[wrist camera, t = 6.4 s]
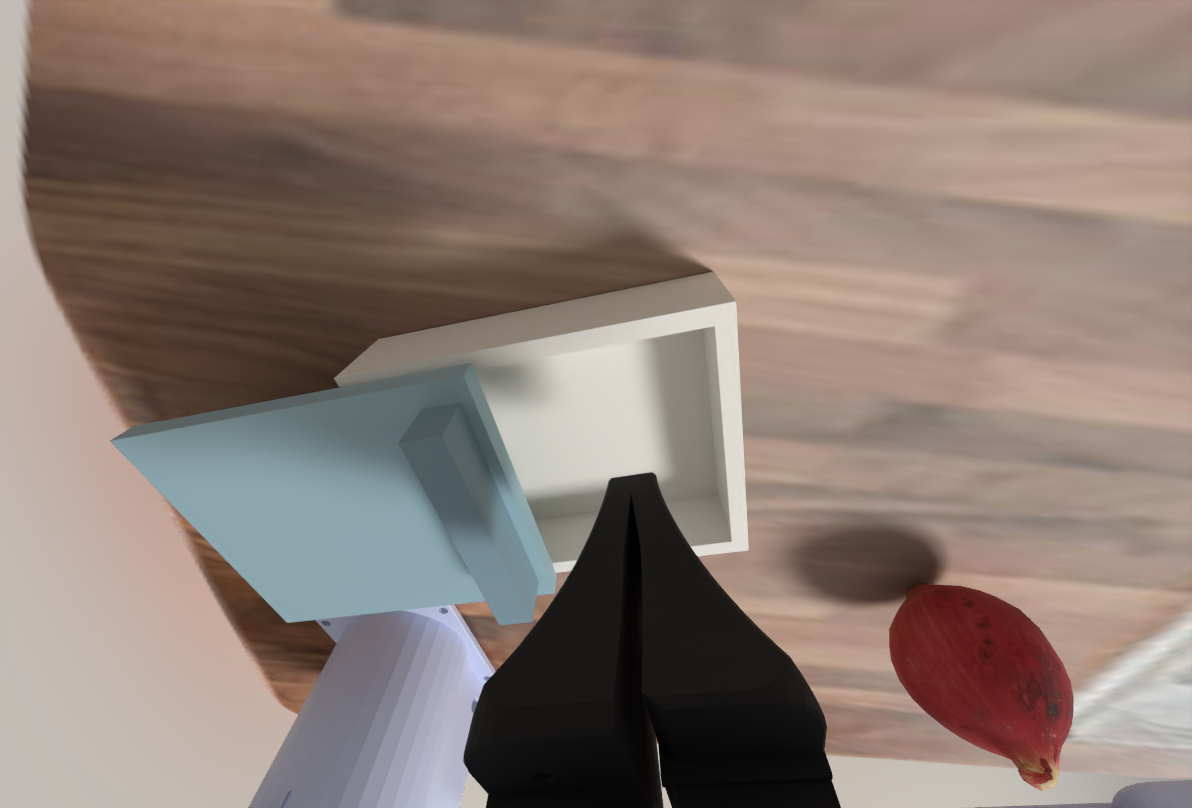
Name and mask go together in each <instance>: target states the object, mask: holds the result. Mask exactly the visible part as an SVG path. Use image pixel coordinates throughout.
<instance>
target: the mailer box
mask: <svg viewBox="0 0 1192 808" xmlns="http://www.w3.org/2000/svg"><path fill="white" fill-rule="evenodd" d="M467 363H472V365H473V368H474V370H475V372H476V375H477V377H478V380H479V382H480V385H481V387H482V390H483V392H484V395H485V397H486V400H487V402H488V405H489V407H490V410H491V412H492V415H493V417H494V420H495V422H496V425H497V427H498V430H499V432H500V435H501V437H502V440H503V442H504V445H505V447H506V450H507V452H508V455H509V457H510V460H511V462H512V465H513V467H514V470H515V472H516V475H517V477H518V480H519V482H520V485H521V487H522V490H523V492H524V495H525V497H526V500H527V502H528V505H529V507H530V510H531V512H532V515H533V517H534V520H535V522H536V525H537V527H538V530H539V532H540V535H541V537H542V540H543V542H544V545H545V547H546V550H547V552H548V555H549V557H550V560H551V562H552V565H553V567H554V570H555V572H556V573H558V572H566V571H572V569H573V567H574V565H575V563H576V562H577V560H578V558H579V556H580V554H581V552H582V550H583V548H584V546H585V543H586V541H587V539H588V537H589V535H590V533H591V530H592V528H593V526H594V523H595V521H596V518H597V516H598V513H599V511H600V508H601V505H602V502H603V499H604V496H605V493H606V489H607V486H608V481H609V480H610V479H611V478H615V477H622V476H628V475H635V474H642V473H649V472H653V473H654V474H656V477H657V482H658V485H659V488H660V491H661V494H662V496H663V498H664V501H665V503H666V505H667V507H668V509H669V511H670V513H671V515H672V517H673V518H674V520H675V522H676V524H677V526H678V527H679V529H680V531H681V532H682V534H683V536H684V537H685V539H686V540H687V542H688V543H689V545H690V546H691V548H692V549H693V551H694V552H695V554H696V555H697V556H704V555H712V554H721V553H729V552H738V551H747V550H749V549H748V530H747V510H746V490H745V470H744V450H743V431H742V411H741V391H740V371H739V351H738V332H737V312H736V301H735V299H734V298H733V297H732V295H731V294H730V293H729V291H728V290H727V289H726V287H725V286H724V285H723V283H722V282H721V281H720V279H719V278H718V277H717V275H716V274H715V273H714V271H713V272H708V273H703V274H698V275H693V276H688V277H683V278H678V279H673V280H669V281H664V282H659V283H654V284H649V285H644V286H639V287H634V288H629V289H624V290H619V291H614V292H609V293H604V294H599V295H594V296H589V297H584V298H579V299H575V300H570V301H565V302H560V303H555V304H550V305H545V306H540V307H535V308H530V309H525V310H520V311H515V312H510V313H505V314H500V315H495V316H490V317H485V318H481V319H476V320H471V321H466V322H461V323H456V324H451V325H446V326H441V327H436V328H431V329H426V330H421V331H416V332H411V333H406V334H401V335H396V336H391V337H387V338H382V339H378V340H377V341H376V342H375V343H373V344H372V345H371V346H370V347H369V348H368V349H367V350H365V351H364V352H363V353H362V354H361V355H360V356H359V357H358V358H356V359H355V360H354V361H353V362H352V363H351V364H350V365H348V366H347V367H346V368H345V369H344V370H343V371H342V372H341V373H339V374H338V375H337V376H336V377H335V378H334V380H335V381H336V383H337V385H338V386H339V387H345V386H350V385H355V384H361V383H366V382H371V381H377V380H382V379H387V378H392V377H398V376H403V375H408V374H414V373H419V372H424V371H430V370H435V369H440V368H446V367H451V366H456V365H462V364H467Z"/></svg>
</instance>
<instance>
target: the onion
mask: <svg viewBox="0 0 1192 808" xmlns="http://www.w3.org/2000/svg"><path fill="white" fill-rule="evenodd" d="M889 644H890V654H891V661H892V663H893V666H894V668H895V671H896V673H897V676H898V678H899V680H900V682H901V683H902V685H903V686H904V687H905V689H906V690H907V692H908V693H909V695H910V696H911V697H912V699H913V700H914V701H915V702H916V703H917V704H918V705H919V706H920V707H921V708H922V709H923V710H924V711H925V712H926V713H928V714H929V715H930V716H931V717H933V718H934V719H935V720H936V721H938V722H939V723H940V724H941V725H943V726H944V727H945V728H947V729H948V730H950V731H951V732H953V733H954V734H956V735H957V736H959V737H961V738H962V739H964V740H966V741H968V742H970V743H972V744H973V745H975V746H977V747H980V748H982V749H985V750H987V751H989V752H992V753H995V754H998V755H1001V756H1003V757H1006V758H1008V759H1011V760H1012V761H1013V762H1014V764H1015V765H1016V766H1017V768H1018V769H1019V770H1018V771H1019V773H1020V775H1021V777H1022V778H1023V780H1024V781H1026V782H1027V783H1029V784H1030V785H1032V786H1033V787H1035V788H1037V789H1039V790H1041V791H1042V790H1043V789H1049V788H1050V789H1051V788H1052V787H1053V786H1055V785H1056V784H1057V780H1058V774H1059V756H1060V752H1061V748H1062V745H1063V743H1064V742H1065V740H1066V738H1067V736H1068V733H1069V731H1070V728H1071V725H1072V718H1073V693H1072V687H1071V682H1070V679H1069V677H1068V675H1067V672H1066V670H1065V668H1064V665H1063V663H1062V661H1061V660H1060V658H1059V657H1058V655H1057V654H1056V652H1055V651H1054V649H1053V648H1052V646H1051V645H1050V643H1049V642H1048V640H1047V639H1046V637H1045V636H1044V634H1043V633H1042V631H1041V630H1040V628H1039V627H1038V626H1037V625H1035V624H1034V623H1033V622H1032V621H1031V620H1030V619H1029V618H1028V617H1027V616H1026V615H1025V614H1024V613H1023V612H1022V611H1021V610H1020V609H1018V608H1016V607H1014V606H1012V605H1010V604H1008V603H1006V602H1005V601H1003V600H1001V599H999V598H997V597H995V596H992V595H990V594H987V593H984V592H982V591H979V590H975V589H971V588H967V587H962V586H952V585H930V584H918V585H915V586H913V587H912V588H911V589H910V590H909V592H908V593H907V597H906V600H905V601H904V602H903V604H902V605H901V606H900V608H899V610H898V612H897V614H896V616H895V618H894V620H893V622H892V624H891V627H890V629H889Z"/></svg>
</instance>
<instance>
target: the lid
mask: <svg viewBox="0 0 1192 808" xmlns="http://www.w3.org/2000/svg"><path fill="white" fill-rule="evenodd" d="M111 443H112V444H113V445H114V446H115V447H116V448H117V449H118V450H119V451H120V452H121V453H122V454H123V455H124V456H125V457H126V458H127V459H128V460H129V461H130V462H131V463H132V464H133V465H134V466H135V467H136V468H137V469H138V470H139V471H140V472H141V473H142V474H143V475H144V476H145V478H146V479H147V480H148V481H149V482H150V483H151V484H152V485H153V486H154V487H155V488H156V489H157V490H158V491H159V492H160V493H161V494H162V495H163V496H164V497H165V498H166V499H167V500H168V501H169V502H170V503H171V504H172V505H173V506H174V507H175V508H176V509H177V510H178V511H179V512H180V513H181V514H182V515H183V517H184V518H185V519H186V520H187V521H188V522H189V523H190V524H191V525H192V526H193V527H194V528H195V529H196V530H197V531H198V532H199V533H200V534H201V535H202V536H203V537H204V538H205V539H206V540H207V541H208V542H209V543H210V544H211V545H212V546H213V547H214V548H215V549H216V550H217V551H218V552H219V553H220V554H221V555H222V557H223V558H224V559H225V560H226V561H227V562H228V563H229V564H230V565H231V566H232V567H233V568H234V569H235V570H236V571H237V572H238V573H239V574H240V575H241V576H242V577H243V578H244V579H245V580H246V581H247V582H248V583H249V584H250V585H251V586H252V587H253V588H254V589H255V590H256V591H257V592H258V593H259V594H260V596H261V597H262V598H263V599H264V600H265V601H266V602H267V603H268V604H269V605H270V606H271V607H272V608H273V609H274V610H275V611H276V612H277V613H278V614H279V615H280V616H281V617H282V618H283V619H284V620H285V621H286V622H287V623H291V622H300V621H309V620H318V619H327V618H336V617H346V616H355V615H364V614H373V613H382V612H391V611H400V610H409V609H418V608H427V607H436V606H446V605H455V604H464V603H473V602H482V601H486V602H487V604H488V606H489V608H490V609H491V611H492V613H493V615H494V617H495V618H496V620H497V622H498V624H499V625H507V624H517V623H526V622H532V621H533V615H534V609H535V603H536V597H537V595H545V594H555V587H556V579H557V575H556V572H555V570H554V567H553V565H552V562H551V560H550V557H549V555H548V552H547V550H546V547H545V545H544V542H543V540H542V537H541V535H540V532H539V530H538V527H537V525H536V522H535V520H534V517H533V515H532V512H531V510H530V507H529V505H528V502H527V500H526V497H525V495H524V492H523V490H522V487H521V485H520V482H519V480H518V477H517V475H516V472H515V470H514V467H513V465H512V462H511V460H510V457H509V455H508V452H507V450H506V447H505V445H504V442H503V440H502V437H501V435H500V432H499V430H498V427H497V425H496V422H495V420H494V417H493V415H492V412H491V410H490V407H489V405H488V402H487V400H486V397H485V395H484V392H483V390H482V387H481V385H480V382H479V380H478V377H477V375H476V372H475V370H474V368H473V365H472V363H467V364H462V365H456V366H451V367H446V368H440V369H435V370H430V371H424V372H419V373H414V374H408V375H403V376H398V377H392V378H387V379H382V380H377V381H371V382H366V383H361V384H355V385H350V386H345V387H339V388H334V389H329V390H323V391H318V392H313V393H308V394H302V395H297V396H292V397H286V398H281V399H276V400H270V401H265V402H260V403H254V404H249V405H244V406H238V407H233V408H228V409H223V410H217V411H212V412H207V413H201V414H196V415H191V416H185V417H180V418H175V419H169V420H164V421H159V422H154V423H148V424H143V425H138V426H133V427H132V428H130V429H129V430H127V431H125V432H124V433H122V434H120V435H119V436H117V437H116V438H114V439H112V440H111Z"/></svg>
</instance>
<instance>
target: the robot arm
mask: <svg viewBox="0 0 1192 808" xmlns="http://www.w3.org/2000/svg"><path fill="white" fill-rule="evenodd" d="M315 621H316V622H317V623H318V624H319V625H320V626H321V627H322V628H323V629H324V630H325V631H326V633H327V634H328V635H329V636H330V637H331V638H332V639H333V640H334V641H335V642H336V643H337V644H336V646H335V647H334V649H333V651H332V653H331V655H330V657H329V659H328V660H327V662H326V664H325V666H324V668H323V670H322V672H321V674H320V675H319V677H318V679H317V681H316V683H315V685H314V687H313V688H312V690H311V692H310V694H309V696H308V698H307V700H306V701H305V703H304V705H303V707H302V709H301V711H300V713H299V714H298V716H297V718H296V720H295V722H294V724H293V726H292V727H291V730H290V731H289V733H288V735H287V737H286V739H285V740H284V742H283V744H282V746H281V748H280V750H279V752H278V753H277V755H276V757H275V759H274V761H273V763H272V765H271V766H270V768H269V770H268V772H267V774H266V776H265V778H264V779H263V781H262V783H261V786H260V787H259V789H258V791H257V792H256V794H255V796H254V798H253V800H252V802H251V804H250V805H249V807H248V808H460V804H461V801H462V797H463V792H464V788H465V784H466V779H467V774H468V771H469V773H470V774H471V775H472V776H473V777H474V778H475V780H476V781H477V782H478V783H479V784H480V785H481V786H482V787H483V788H484V790H485V791H486V792H487V793H488V800H487V805H486V808H663V799H662V791H661V781H662V786H663V787H665V788H666V791H667V794H668V797H669V800H670V803H671V806H672V808H841V807H840V804H839V801H838V798H837V795H836V792H835V789H834V786H833V783H832V778H833V777H832V772H831V769H830V766H829V763H828V760H827V757H826V754H825V751H824V748H825V739H826V730H827V726H826V721H825V717H824V714H823V712H822V710H821V708H820V706H819V704H818V702H817V700H816V698H815V696H814V694H813V692H812V690H811V689H810V687H809V685H808V684H807V682H806V680H805V679H804V677H803V676H802V674H801V673H800V671H799V670H798V668H797V667H796V665H795V664H794V662H793V661H792V659H791V658H790V657H789V656H788V655H787V654H786V653H785V652H784V651H783V650H782V649H781V648H780V647H779V646H777V645H776V644H775V643H774V642H773V641H772V640H771V639H770V638H769V637H768V636H767V635H766V634H765V633H764V632H763V631H762V630H761V629H760V628H759V627H758V626H757V625H756V624H755V623H754V622H753V621H752V620H751V619H750V618H749V617H748V616H747V615H746V614H745V613H744V612H743V611H742V610H741V609H740V608H739V607H738V605H737V604H736V603H735V602H734V601H733V600H732V599H731V598H730V597H729V595H728V594H727V593H726V592H725V591H724V590H723V589H722V588H721V586H720V585H719V584H718V583H717V581H716V580H715V579H714V578H713V576H712V575H711V574H710V573H709V571H708V570H707V569H706V567H705V566H704V565H703V564H702V562H701V561H700V559H699V558H698V557H697V555H696V554H695V552H694V551H693V549H692V548H691V546H690V545H689V543H688V542H687V540H686V539H685V537H684V536H683V534H682V532H681V531H680V529H679V527H678V526H677V524H676V522H675V520H674V518H673V517H672V515H671V513H670V511H669V509H668V507H667V505H666V503H665V501H664V498H663V496H662V494H661V491H660V488H659V485H658V482H657V477H656V474H654V473H653V472H649V473H642V474H635V475H628V476H622V477H615V478H611V479H610V480H609V481H608V486H607V489H606V493H605V496H604V499H603V502H602V505H601V508H600V511H599V513H598V516H597V518H596V521H595V523H594V526H593V528H592V530H591V533H590V535H589V537H588V539H587V541H586V543H585V546H584V548H583V550H582V552H581V554H580V556H579V558H578V560H577V562H576V563H575V565H574V567H573V569H572V571H571V572H570V574H569V576H568V578H567V579H566V581H565V583H564V584H563V586H562V588H561V589H560V591H559V592H558V594H557V595H556V597H555V598H554V600H553V601H552V603H551V604H550V606H549V607H548V609H547V610H546V611H545V613H544V614H543V616H542V617H541V618H540V620H539V621H538V622H537V624H536V625H535V626H534V627H533V629H532V630H531V631H530V632H529V634H528V635H527V636H526V637H525V639H524V640H523V641H522V643H521V644H520V645H519V646H518V647H517V649H516V650H515V651H514V652H513V653H512V654H511V655H510V657H509V658H508V659H507V660H506V661H505V662H504V663H503V664H502V665H501V666H500V668H499V669H498V670H497V671H495V669H494V668H493V666H492V665H491V663H490V661H489V660H488V658H487V657H486V655H485V653H484V652H483V650H482V648H481V647H480V645H479V644H478V642H477V640H476V639H475V637H474V636H473V634H472V632H471V631H470V629H469V627H468V626H467V624H466V623H465V621H464V619H463V618H462V616H461V615H460V613H459V611H458V610H457V608H456V607H455V605H446V606H436V607H427V608H418V609H409V610H400V611H391V612H382V613H373V614H364V615H355V616H346V617H336V618H327V619H318V620H315ZM656 738H657V741H658V744H659V756H660V768H661V781H660V772H659V763H658V753H657V744H656ZM977 808H1192V780H1187V781H1164V782H1163V781H1162V782H1145V783H1138V784H1134V785H1130V786H1127V787H1125V788H1123V789H1121V790H1120V791H1118V792H1117V793H1116V795H1115V796H1114V798H1113V801H1112V803H1089V804H1064V805H1063V804H1062V805H1034V806H1006V807H977Z"/></svg>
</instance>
